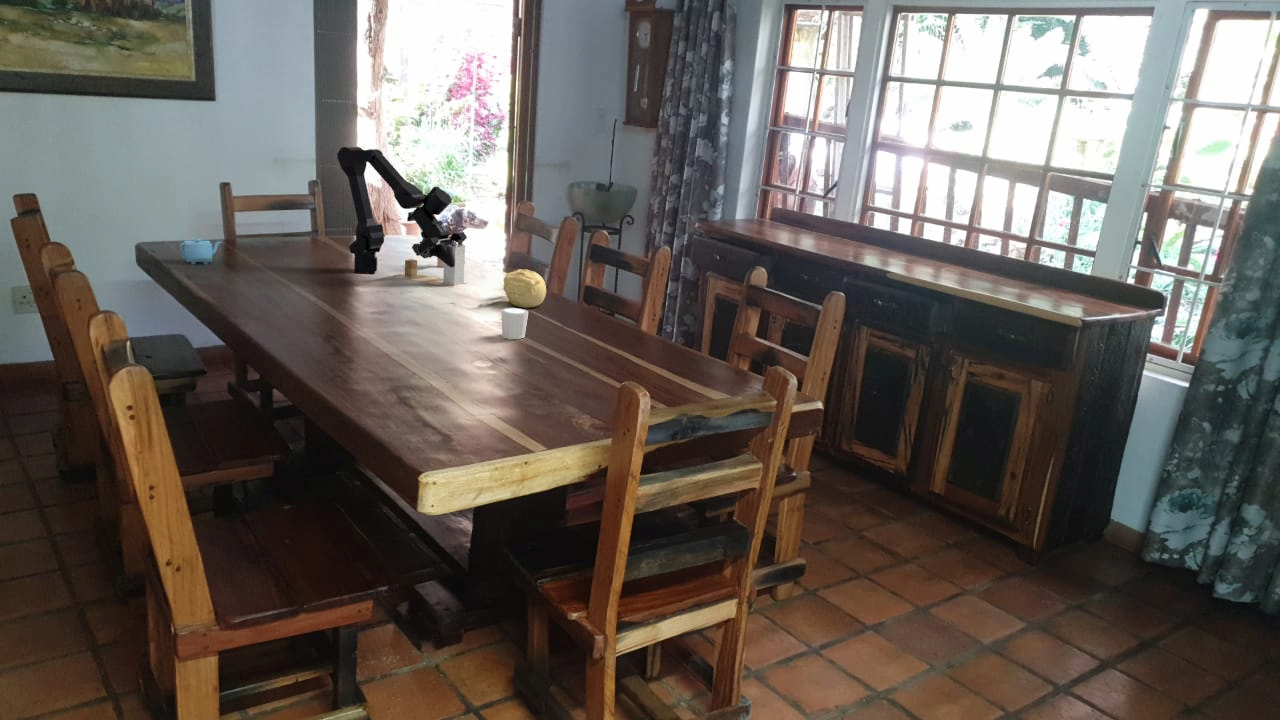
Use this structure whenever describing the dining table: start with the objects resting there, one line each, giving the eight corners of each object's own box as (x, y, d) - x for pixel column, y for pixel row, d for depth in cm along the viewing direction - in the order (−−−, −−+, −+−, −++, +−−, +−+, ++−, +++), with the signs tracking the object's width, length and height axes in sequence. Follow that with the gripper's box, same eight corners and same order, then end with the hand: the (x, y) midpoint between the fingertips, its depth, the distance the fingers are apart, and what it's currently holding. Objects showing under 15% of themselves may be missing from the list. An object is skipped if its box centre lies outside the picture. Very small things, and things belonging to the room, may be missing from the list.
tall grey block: (443, 284, 283) (444, 242, 280) (452, 282, 288) (454, 240, 284) (454, 286, 282) (455, 244, 278) (463, 284, 286) (465, 242, 283)
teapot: (221, 260, 294) (220, 237, 292) (224, 264, 290) (223, 240, 287) (179, 261, 288) (178, 237, 286) (181, 265, 283) (180, 240, 281)
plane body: (395, 281, 288) (396, 260, 286) (412, 277, 296) (412, 257, 294) (452, 292, 280) (453, 271, 279) (468, 288, 288) (468, 267, 286)
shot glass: (505, 341, 234) (506, 314, 232) (496, 333, 240) (497, 307, 238) (530, 340, 237) (532, 313, 235) (521, 332, 243) (522, 306, 241)
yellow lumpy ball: (497, 305, 270) (498, 268, 267) (519, 298, 281) (521, 263, 278) (530, 312, 266) (532, 275, 263) (552, 305, 276) (554, 269, 273)
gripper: (431, 237, 295) (459, 276, 294) (394, 243, 279) (423, 285, 278) (453, 215, 290) (481, 255, 289) (416, 220, 274) (446, 263, 273)
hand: (458, 265), depth 282 cm, fingers open, 6 cm apart
